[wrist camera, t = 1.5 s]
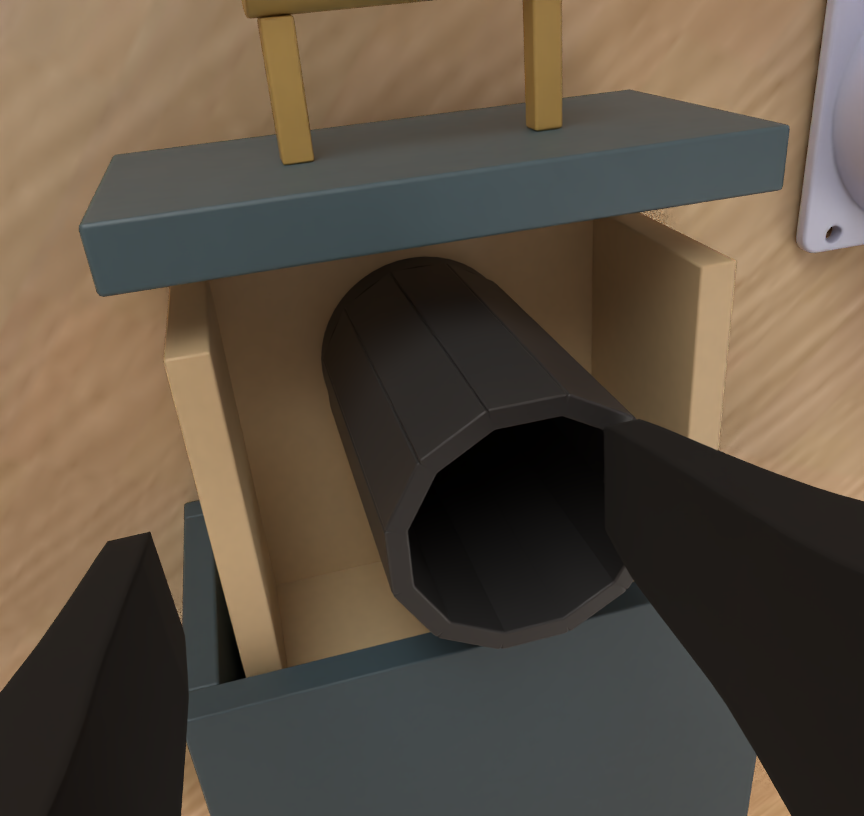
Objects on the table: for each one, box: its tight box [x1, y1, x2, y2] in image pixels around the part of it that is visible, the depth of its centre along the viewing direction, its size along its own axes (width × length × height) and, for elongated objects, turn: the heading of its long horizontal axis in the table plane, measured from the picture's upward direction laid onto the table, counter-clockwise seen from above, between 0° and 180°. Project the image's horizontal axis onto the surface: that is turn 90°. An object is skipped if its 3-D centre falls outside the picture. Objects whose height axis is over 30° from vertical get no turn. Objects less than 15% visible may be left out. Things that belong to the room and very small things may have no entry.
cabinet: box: [182, 500, 756, 816], centre depth 24 cm, size 14×14×8 cm
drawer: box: [79, 0, 790, 678], centre depth 18 cm, size 16×12×6 cm
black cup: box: [321, 256, 636, 649], centre depth 17 cm, size 5×5×8 cm
